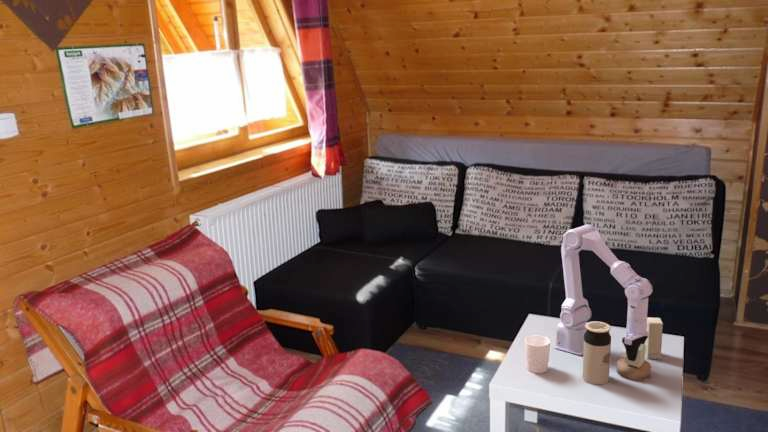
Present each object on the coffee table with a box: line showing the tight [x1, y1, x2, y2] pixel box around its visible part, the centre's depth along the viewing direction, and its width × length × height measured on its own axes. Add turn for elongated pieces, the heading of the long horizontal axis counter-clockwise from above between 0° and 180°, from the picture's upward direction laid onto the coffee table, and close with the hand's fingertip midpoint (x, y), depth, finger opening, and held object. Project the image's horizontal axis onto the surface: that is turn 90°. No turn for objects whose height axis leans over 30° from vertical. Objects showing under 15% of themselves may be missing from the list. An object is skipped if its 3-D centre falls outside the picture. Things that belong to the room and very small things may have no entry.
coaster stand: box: [616, 356, 652, 382], centre depth 203 cm, size 10×10×3 cm
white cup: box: [524, 334, 551, 374], centre depth 208 cm, size 8×8×10 cm
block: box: [624, 344, 646, 367], centre depth 202 cm, size 4×4×6 cm
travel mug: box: [581, 320, 612, 385], centre depth 199 cm, size 8×8×18 cm
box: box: [645, 316, 664, 360], centre depth 212 cm, size 5×4×13 cm
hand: (634, 356), depth 202 cm, fingers closed on block, 4 cm apart
